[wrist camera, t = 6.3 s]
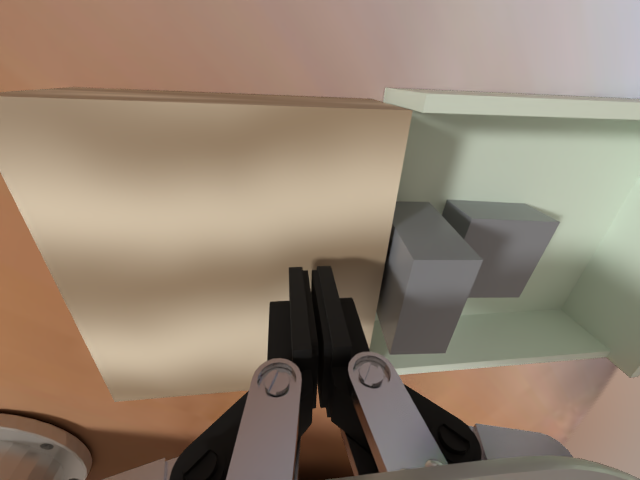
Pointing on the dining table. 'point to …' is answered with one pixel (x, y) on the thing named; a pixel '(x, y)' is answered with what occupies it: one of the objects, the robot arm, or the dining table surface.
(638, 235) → the tray
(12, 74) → the dining table surface
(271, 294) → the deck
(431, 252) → the tile front
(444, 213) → the tile rear
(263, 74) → the dining table surface
